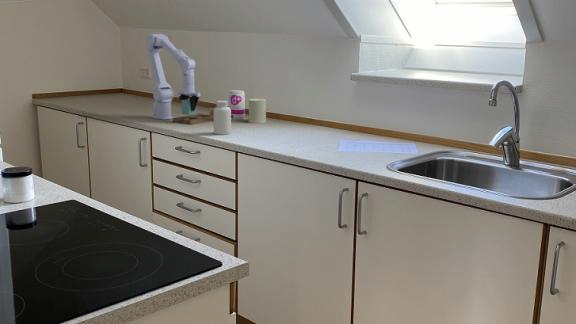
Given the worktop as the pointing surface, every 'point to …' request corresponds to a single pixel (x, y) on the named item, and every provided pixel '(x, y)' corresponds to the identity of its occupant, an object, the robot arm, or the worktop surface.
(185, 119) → the walnut frame
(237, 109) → the supplement can
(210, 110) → the maple block
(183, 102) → the teal block
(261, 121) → the can
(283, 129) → the worktop surface
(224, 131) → the pill bottle
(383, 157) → the worktop surface
